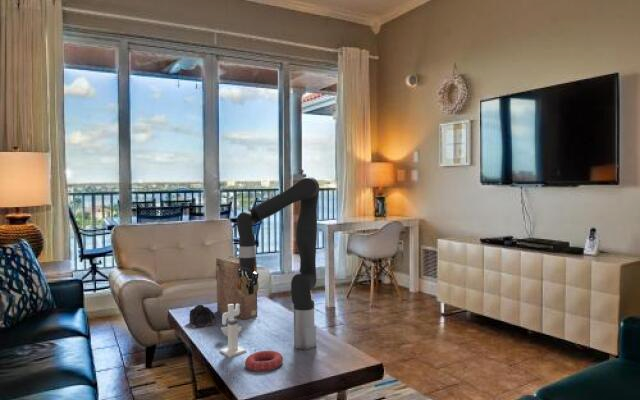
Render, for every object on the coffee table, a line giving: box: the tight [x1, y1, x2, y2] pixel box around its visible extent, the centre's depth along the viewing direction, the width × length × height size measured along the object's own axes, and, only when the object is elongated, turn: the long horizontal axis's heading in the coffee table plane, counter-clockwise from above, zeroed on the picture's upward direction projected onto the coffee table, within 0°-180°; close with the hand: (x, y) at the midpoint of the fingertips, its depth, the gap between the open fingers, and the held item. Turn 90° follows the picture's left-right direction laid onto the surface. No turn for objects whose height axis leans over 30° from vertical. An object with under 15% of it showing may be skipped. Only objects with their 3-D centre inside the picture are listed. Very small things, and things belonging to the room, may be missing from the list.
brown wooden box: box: [215, 256, 258, 321], centre depth 258 cm, size 25×9×30 cm, turn 45°
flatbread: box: [237, 275, 260, 297], centre depth 211 cm, size 10×4×10 cm, turn 129°
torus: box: [244, 350, 284, 372], centre depth 189 cm, size 16×14×4 cm
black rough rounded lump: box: [188, 304, 216, 328], centre depth 242 cm, size 14×14×10 cm
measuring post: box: [219, 318, 247, 358], centre depth 202 cm, size 8×8×14 cm
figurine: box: [220, 304, 243, 337], centre depth 223 cm, size 7×9×15 cm
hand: (248, 293), depth 211 cm, fingers closed on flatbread, 3 cm apart
